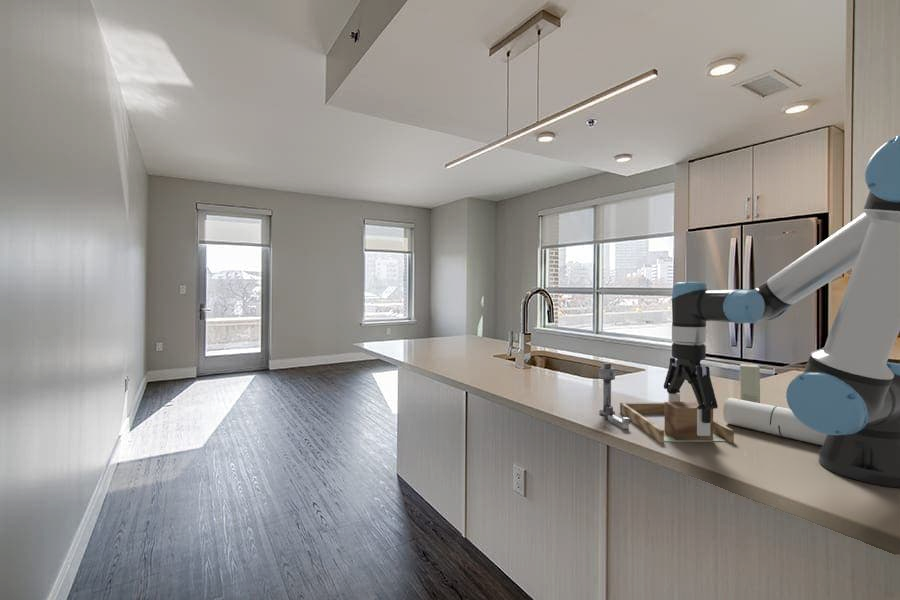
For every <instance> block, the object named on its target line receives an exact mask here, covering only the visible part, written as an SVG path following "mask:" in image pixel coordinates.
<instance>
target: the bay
mask: <svg viewBox="0 0 900 600" xmlns="http://www.w3.org/2000/svg"><path fill="white" fill-rule="evenodd" d="M619 405H620V406H619V412H620V414H621V415H623V417H628V418H630V422H632V423H633V424H635V425H636V426H637V427H639V428H640V429H641V430H642V431H644V432H645V433H646V434H648V435H649V436H650V437H652V438H654V439H655V440H656V441H657V442H658V443H660V444H661V443H666V442H667V443H668V442H669V443H675V442H677V443H679V442H680V443H683V442H684V443H685V442H686V443H687V442H688V443H691V442H692V443H694V442H695V443H698V442H703V443H704V442H706V443H707V442H710V443H714V442H716V443H717V442H718V443H719V442H721V443H722V442H724V443H725V442H727V443H735V441H734V439H735V430H734V429H732V428H730V427H728V426H727V425H725V424H723V423H721V422H718V421H717V420H715V419H713V440H675V439H674V438H672V437H671V436H669V435H668V434H667V433H665V432H664V429H663V428H661V427H660V426H658V425H657V424H655V423H653V422H652V421H651V420H649V419H648V418H647V417H645V416H643V415H642V414H646V415H648V414H651V415H652V414H658V415H659V414H665V402H619Z"/></svg>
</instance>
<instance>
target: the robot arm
mask: <svg viewBox="0 0 900 600" xmlns="http://www.w3.org/2000/svg"><path fill="white" fill-rule="evenodd" d="M864 171H865V172H864V179H865V183H866V186H867V188H868V189H869V193H868V195H867V198H866V201H865V204H864V206H863V210H862V212H863V213H862V214H860V215H858V217H857V218H856V217H855V219H853V220H852V221H851V222H849V223H847V224H846V225H844V226H843V227H841V229H839V230H837V231H836V232H835V233H833V234H832V235H829V237H827V238H826V239H824V240H823V241H821V242H820V243H819V244H818V245H815V246H814V247H813V248H812V249H810V250H809V251H807V252H806V253H804V254H803V255H801V256H800V257H799V258H797V259H796V260H794V261H793V262H791V263H790V264H788V265H787V266H785V267H784V268H783V269H781V270H780V271H778V272H777V273H775V274H774V275H772V276H770V277H769V278H768V279H767V280H766V281H764V282H763V283H761V284H759V285H758V286H756V287H755V288H754V289H745V288H744V289H740V288H739V289H708V288H707V284H706V282H705V281H704V282H703V281H688V282H687V281H686V282H685V281H684V282H683V281H682V282H681V281H680V282H675V283H674V284H673V286H672V297H671V311H672V313H671V315H672V316H671V317H672V324H671V341H673V343H671V357H670V359H669V366H668V369H667V372H666V377H665V380H664V384H663V389H664V390H666V392H667V393H668V401H667V402H681V394H680V393H681V391H680V389H681V388H682V386H683V385H684V383H685V380H686V381H687V383H688V384H690V385H691V388H692V392H693V393H694V396H695V399H696V402H698V404H699V406H698V407H697V435H698V436H710V422H711V409H713V410H715V409H718V407H719V406H718V401H717V398H716V395H715V392H714V386H713V382H712V379H711V375H710V374H711V373H710V372H711V371H710V366H707V365H706V366H705V365H704V366H703V365H701V361H703V360H706V357H707V356H706V354H707V353H706V352H707V351H706V350H707V349H706V348H707V346H706V344H704V343H705V342H706V339H707V336H706V333H707V330H706V329H707V328H706V327H707V322H710V321H711V322H722V323H733V324H738V325H740V324H755V323H757V322H759V321H771V320H775V319H778V318H781V317H782V316H784V315H785V314H786V313H787V312H788V310H789V309H790V306H792V305H794V304H796V303H798V302H799V301H801V300H802V299H804V298H805V297H807V296H809V295H810V294H812V293H814V292H815V291H817V290H819V289H821V287H824V286H825V285H826V284H828V283H831V282H832V281H833V280H834V279H836V278H838V277H840V276H842V275H843V274H844V273H846V272H849V271H850V270H851V269H852V268H853V269H852V272H851V274H850V277H849V279H848V282H847V285H846V288H845V290H844V293H843V296H842V298H841V301H840V304H839V306H838V308H837V312H836V313H835V317H834V319H833V322H832V325H831V328H830V330H829V333H828V335H827V338H826V342H825V345H824V347H822V348H820V349H817V350H814V351H811V353H810V355H809V357H808V360H807V363H806V366H805V368H804V371H803V373H802V374H798V375H797V376H795V378H793V379H792V380H791V381H790V383H789V384H788V385H787V388H786V392H785V394H786V396H785V398H786V402H787V406H788V409H791V410H792V412H793V414H794V416H795V417H796V418H797V419H798V420H799V421H800V422H802V423H803V424H804V425H805V426H807V427H809V428H810V429H812V430H814V431H817V432H820V433H823V434H827V436H826V439H825V442H824V444H823V446H821V447H820V449H819V450H818V462H819V464H820V465H821V466H822V467H824V468H825V469H827V470H829V471H831V472H833V473H836V474H838V475H840V476H843V477H846V478H848V479H853V480H857V481H859V482H860V481H861V482H863V483H868V484H873V485H878V486H884V487H885V486H886V487H892V488H900V363H896V362H889V358H890V355H891V353H892V350H893V348H894V346H895V343H896V341H897V338H898V336H899V333H900V134H898V135H896V136H895V137H893V138H891V139H890V140H888V141H887V142H885V143H883V145H881V146H880V147H879V148H877V150H875V152H874V153H873V154H872V156H871V157H870V158H869V160H868V162H867V164H866V167H865V170H864Z"/></svg>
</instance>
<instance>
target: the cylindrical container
mask: <svg viewBox="0 0 900 600" xmlns="http://www.w3.org/2000/svg"><path fill="white" fill-rule="evenodd" d="M722 414H723V419H724V422H725V423H726V424H728V425H732V426H735V427H741V428H745V429H750V430H753V431H758V432H761V433H767V434H771V435H774V436H778V437H783V438H787V439H792V440H797V441H800V442H804V443H805V442H806V443H809V444H814V445H818V446H821V447H823V444H824V442H825V439H826V436H827V434H823V433H820V432H817V431H814V430H812V429H810V428H809V427H807V426H805V425H804V424H803V423H802V422H800V421H799V420H798V419H797V418H796V417H795V416H794V414H793V412H792V410H791V409H790V408H787V407H781V406H777V405H772V404H771V405H770V404H765V403H761V402H760V403H756V402H750V401H745V400H740V399H739V398H733V397H728V398H727V399H726V400H725V403H724V405H723V411H722Z"/></svg>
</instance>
